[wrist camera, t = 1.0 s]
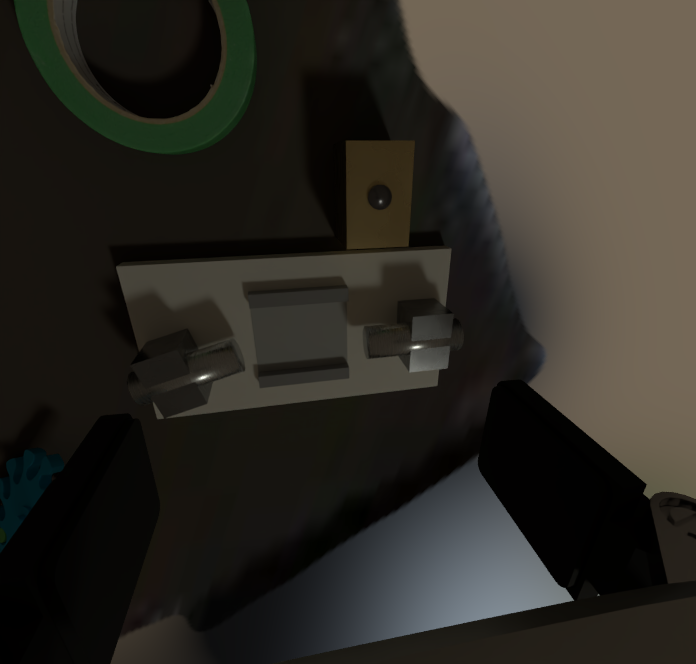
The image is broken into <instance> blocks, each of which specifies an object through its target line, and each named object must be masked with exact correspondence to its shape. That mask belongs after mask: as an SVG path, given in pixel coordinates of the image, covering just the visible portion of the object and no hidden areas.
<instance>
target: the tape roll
mask: <svg viewBox="0 0 696 664" xmlns="http://www.w3.org/2000/svg"><path fill="white" fill-rule="evenodd" d="M208 1H209V3H210V4H211V6H212V8H213V9H214V11H215V13H216V16H217V19H218V24H219V28H220V33H221V44H222V52H221V62H220V67H219V71H218V75H217V77H216V80H215V83H214V85H211V84H210V86H211V89H210V91H209V92H208V94H207V95H206V97H205V98H204V99H203V100H202V101H201V102H200V103H199V104H198V105H197V106H196V107H194V108H192V109H191V110H190V111H188V112H186V113H184V114H181V115H179V116H175V117H172V118H166V119H159V118H155V119H154V118H145V117H140V116H138V115H136V114H134V113H132V112H130V111H128V110H127V109H125V108H124V107H122V106H121V105H120V104H118V103H117V102H116V101H115V100H114V99H113V98H112V97H111V96H110V95H109V94H108V93H107V92H106V91H105V90H104V89H103V88H102V87H101V86H100V84H99V83H98V81H97V80H96V79H95V77H94V76H93V74H92V72H91V71H90V69H89V67H88V65H87V63H86V61H85V59H84V56H83V54H82V51H81V48H80V45H79V41H78V37H77V30H76V6H77V0H14V5H15V11H16V15H17V19H18V23H19V27H20V30H21V33H22V36H23V39H24V41H25V43H26V46H27V48H28V50H29V53H30V55H31V57H32V59H33V61H34V62H35V64H36V66H37V68H38V69H39V71H40V73H41V75H42V76H43V78H44V79H45V81H46V83H47V84H48V86H49V87H50V88H51V90H52V91H53V92H54V93H55V94H56V96H57V97H58V98H59V99H60V100H61V102H62V103H63V104H64V105H65V106H66V107H67V108H68V109H69V110H70V111H71V112H72V113H73V114H75V115H76V116H77V117H78V118H79V119H80V120H82V121H83V122H84V123H85V124H87V125H88V126H89V127H91V128H92V129H94V130H95V131H97V132H98V133H100V134H102V135H103V136H105V137H107V138H109V139H111V140H113V141H115V142H117V143H119V144H122V145H124V146H127V147H130V148H133V149H137V150H141V151H145V152H152V153H161V154H186V153H191V152H196V151H199V150H202V149H205V148H207V147H209V146H211V145H213V144H215V143H217V142H218V141H220V140H221V139H222V138H224V137H225V136H226V135H227V134H228V133H229V132H230V131H231V130H232V129H233V128H234V127H235V126H236V125H237V123H238V122H239V121H240V119H241V118H242V116H243V114H244V113H245V111H246V109H247V107H248V104H249V102H250V99H251V96H252V93H253V89H254V85H255V78H256V67H257V54H256V43H255V37H254V30H253V25H252V20H251V15H250V11H249V7H248V4H247V1H246V0H208Z"/></svg>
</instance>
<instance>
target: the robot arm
mask: <svg viewBox="0 0 696 664" xmlns="http://www.w3.org/2000/svg"><path fill="white" fill-rule="evenodd" d="M478 467H479V470H480V472H481V474H482V476H483V477H484V478H485V480H486V481H487V483H488V484H489V486H490V487H491V488H492V490H493V491H494V493H495V494H496V496H497V497H498V499H499V500H500V502H501V503H502V504H503V506H504V507H505V508H506V510H507V512H508V513H509V514H510V516H511V517H512V519H513V520H514V522H515V523H516V525H517V526H518V528H519V529H520V530H521V532H522V533H523V535H524V536H525V538H526V539H527V541H528V542H529V544H530V545H531V546H532V548H533V549H534V551H535V552H536V554H537V555H538V557H539V558H540V559H541V561H542V562H543V564H544V565H545V567H546V568H547V570H548V571H549V572H550V574H551V575H552V577H553V578H554V580H555V581H556V582H557V583H558V585H560V586H561V587H563V588H566V589H567V591H568V592H569V594H570V595H571V596H572V598H573V599H574V601H570V602H565V603H561V604H556V605H551V606H546V607H541V608H536V609H531V610H526V611H522V612H516V613H511V614H507V615H502V616H496V617H492V618H487V619H482V620H477V621H472V622H467V623H463V624H458V625H453V626H449V627H444V628H439V629H434V630H429V631H424V632H419V633H415V634H410V635H405V636H401V637H396V638H391V639H386V640H382V641H377V642H372V643H368V644H362V645H358V646H353V647H348V648H343V649H339V650H334V651H329V652H325V653H320V654H315V655H311V656H306V657H301V658H297V659H292V660H287V661H283V662H278V663H274V664H696V499H694V498H691V497H688V496H686V495H682V494H678V493H674V492H660V493H656V494H654V495H653V496H652V498H651V499H648V498H647V497H646V496H645V495H644V494H643V492H644V489H645V488H646V483H644V482H643V481H642V480H641V479H639V478H638V477H637V476H636V475H635V474H634V473H632V472H631V471H630V470H629V469H627V468H626V467H625V466H624V465H623V464H622V463H620V462H619V461H618V460H617V459H616V458H615V457H613V456H612V455H611V454H610V453H608V452H607V451H606V450H605V449H604V448H602V447H601V446H600V445H599V444H598V443H597V442H595V441H594V440H593V439H592V438H591V437H589V436H588V435H587V434H586V433H585V432H583V431H582V430H581V429H580V428H579V427H577V426H576V425H575V424H574V423H573V422H571V421H570V420H569V419H568V418H567V417H566V416H564V415H563V414H562V413H561V412H559V411H558V410H557V409H556V408H555V407H553V406H552V405H551V404H550V403H549V402H548V401H546V400H545V399H544V398H543V397H542V396H540V395H539V394H538V393H537V392H536V391H534V390H533V389H532V388H531V387H530V386H528V385H527V384H526V383H525V382H524V381H522V380H509V381H501V382H499V383H498V384H497V387H494V388H493V389H492V393H491V398H490V403H489V408H488V412H487V417H486V422H485V427H484V432H483V437H482V442H481V447H480V452H479V457H478ZM159 511H160V501H159V496H158V492H157V488H156V484H155V480H154V476H153V472H152V468H151V463H150V459H149V455H148V451H147V447H146V443H145V439H144V435H143V431H142V427H141V423H140V421H139V419H132V417H131V415H130V414H128V413H127V414H116V415H104V416H101V417H100V418H99V419H98V420H97V421H96V423H95V424H94V426H93V427H92V429H91V430H90V431H89V433H88V434H87V436H86V437H85V439H84V440H83V441H82V443H81V444H80V446H79V447H78V449H77V450H76V451H75V453H74V454H73V456H72V457H71V459H70V460H69V461H68V463H67V464H66V466H65V467H64V469H63V470H62V471H61V473H60V474H59V476H58V477H57V479H55V480H53V481H52V482H51V483H50V484H49V486H48V487H47V488H46V490H45V491H44V492H43V494H42V495H41V497H40V498H39V499H38V501H37V502H36V504H35V505H34V506H33V508H32V509H31V511H30V512H29V513H28V515H27V516H26V518H25V519H24V521H23V522H22V523H21V525H20V526H19V528H18V529H17V530H16V532H15V533H14V535H13V536H12V537H11V539H10V540H9V542H8V543H7V544H6V546H5V547H4V549H3V550H2V552H1V553H0V664H110V663H111V660H112V657H113V654H114V651H115V648H116V644H117V642H118V638H119V635H120V632H121V629H122V626H123V623H124V620H125V617H126V614H127V611H128V608H129V605H130V602H131V599H132V596H133V593H134V590H135V587H136V584H137V581H138V577H139V574H140V571H141V568H142V565H143V562H144V559H145V556H146V553H147V550H148V547H149V544H150V541H151V538H152V535H153V532H154V529H155V526H156V523H157V520H158V516H159ZM598 594H599V595H600V596H597V595H598Z"/></svg>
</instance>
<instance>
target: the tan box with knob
mask: <svg viewBox="0 0 696 664" xmlns="http://www.w3.org/2000/svg"><path fill="white" fill-rule="evenodd" d="M414 145H415V141H343V142H340V143H337V144H334V183H335V231H336V238H337V239H338V240H339V241H340V242H341V243H342V245H343V246H344V247H345V248H346V249H365V248H386V247H407V246H409V230H410V213H411V196H412V179H413V162H414Z"/></svg>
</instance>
